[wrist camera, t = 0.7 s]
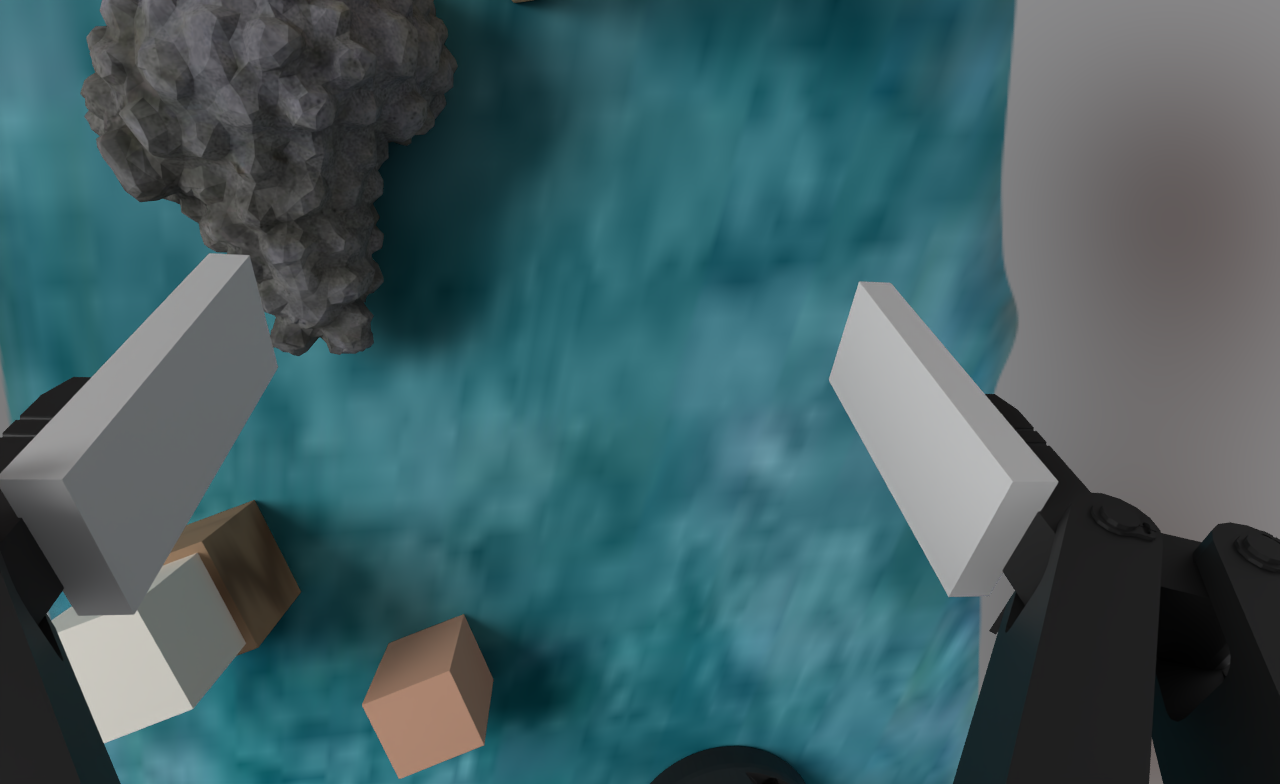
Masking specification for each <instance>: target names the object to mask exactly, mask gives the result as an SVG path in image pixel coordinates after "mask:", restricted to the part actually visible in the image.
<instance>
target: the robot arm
mask: <svg viewBox="0 0 1280 784" xmlns="http://www.w3.org/2000/svg"><path fill="white" fill-rule="evenodd" d="M277 368H278V365H277V361H276V357H275V353H274V350H273V346H272V342H271V338H270V334H269V330H268V326H267V322H266V318H265V314H264V310H263V306H262V302H261V298H260V294H259V290H258V286H257V283H256V279H255V275H254V271H253V267H252V263H251V259H250V255H233V254H210V253H209V254H208V255H207V256H206V257H205V258H204V260H203V261H202V262H201V263H200V264H199V265H198V266H197V267H196V268H195V269H194V270H193V271H192V272H191V273H190V274H189V275H188V276H187V277H186V278H185V280H184V281H183V282H182V283H181V284H180V285H179V286H178V287H177V288H176V289H175V290H174V291H173V292H172V293H171V294H170V295H169V296H168V297H167V298H166V300H165V301H164V302H163V303H162V304H161V305H160V306H159V307H158V308H157V309H156V310H155V311H154V312H153V313H152V314H151V315H150V316H149V317H148V318H147V320H146V321H145V322H144V323H143V324H142V325H141V326H140V327H139V328H138V329H137V330H136V331H135V332H134V333H133V334H132V335H131V336H130V337H129V338H128V340H127V341H126V342H125V343H124V344H123V345H122V346H121V347H120V348H119V349H118V350H117V351H116V352H115V353H114V354H113V355H112V356H111V357H110V358H109V360H108V361H107V362H106V363H105V364H104V365H103V366H102V367H101V368H100V369H99V370H98V371H97V372H96V373H95V374H94V375H93V376H92V377H73V378H71V379H69V380H67V381H65V382H64V383H62V384H60V385H58V386H56V387H55V388H53V389H51V390H49V391H48V392H46V393H44V394H42V395H41V396H40V397H39V398H38V399H37V400H36V401H35V402H34V403H33V404H32V405H31V406H30V407H29V408H28V409H27V410H26V411H24V412H23V413H22V414H21V415H20V420H15V421H14V422H13V423H12V424H11V425H10V426H9V427H8V428H7V429H6V430H5V431H4V432H3V437H2V438H0V784H121V783H120V781H119V779H118V776H117V774H116V772H115V769H114V767H113V764H112V762H111V760H110V757H109V755H108V752H107V750H106V748H105V745H104V743H103V740H102V738H101V736H100V733H99V731H98V728H97V726H96V724H95V721H94V719H93V717H92V714H91V712H90V709H89V707H88V705H87V702H86V700H85V697H84V695H83V693H82V690H81V688H80V685H79V683H78V681H77V678H76V676H75V673H74V671H73V669H72V666H71V664H70V662H69V659H68V657H67V654H66V652H65V650H64V647H63V645H62V642H61V640H60V638H59V635H58V633H57V630H56V628H55V626H54V625H53V623H52V622H51V620H50V618H49V617H48V615H47V614H46V613H47V612H48V611H49V609H50V608H51V606H52V605H53V603H54V602H55V601H56V599H57V598H58V596H59V595H60V594H61V592H62V591H63V592H64V594H65V595H66V597H67V599H68V600H69V602H70V604H71V605H72V607H73V608H74V610H75V612H76V613H77V615H78V616H97V615H134V614H135V613H136V611H137V609H138V607H139V606H140V604H141V602H142V600H143V599H144V597H145V595H146V594H147V592H148V590H149V588H150V587H151V585H152V583H153V582H154V580H155V578H156V576H157V575H158V573H159V571H160V569H161V568H162V566H163V564H164V563H165V561H166V559H167V557H168V556H169V554H170V552H171V551H172V549H173V547H174V545H175V544H176V542H177V540H178V539H179V537H180V535H181V533H182V532H183V530H184V528H185V526H186V525H187V523H188V521H189V520H190V518H191V516H192V514H193V513H194V511H195V509H196V508H197V506H198V504H199V502H200V501H201V499H202V497H203V495H204V494H205V492H206V490H207V489H208V487H209V485H210V483H211V482H212V480H213V478H214V477H215V475H216V473H217V471H218V470H219V468H220V466H221V465H222V463H223V461H224V459H225V458H226V456H227V454H228V452H229V451H230V449H231V447H232V446H233V444H234V442H235V440H236V439H237V437H238V435H239V434H240V432H241V430H242V428H243V427H244V425H245V423H246V421H247V420H248V418H249V416H250V415H251V413H252V411H253V409H254V408H255V406H256V404H257V403H258V401H259V399H260V397H261V396H262V394H263V392H264V391H265V389H266V387H267V385H268V384H269V382H270V380H271V378H272V377H273V375H274V373H275V372H276V370H277ZM829 381H830V383H831V385H832V387H833V388H834V390H835V392H836V394H837V396H838V398H839V399H840V401H841V403H842V405H843V407H844V408H845V410H846V412H847V414H848V416H849V417H850V419H851V421H852V423H853V425H854V426H855V428H856V430H857V432H858V434H859V435H860V437H861V439H862V441H863V443H864V445H865V446H866V448H867V450H868V452H869V454H870V455H871V457H872V459H873V461H874V463H875V464H876V466H877V468H878V470H879V472H880V473H881V475H882V477H883V479H884V481H885V482H886V484H887V486H888V488H889V490H890V492H891V493H892V495H893V497H894V499H895V501H896V502H897V504H898V506H899V508H900V510H901V511H902V513H903V515H904V517H905V519H906V520H907V522H908V524H909V526H910V528H911V529H912V531H913V533H914V535H915V537H916V539H917V540H918V542H919V544H920V546H921V548H922V549H923V551H924V553H925V555H926V557H927V558H928V560H929V562H930V564H931V566H932V567H933V569H934V571H935V573H936V575H937V577H938V578H939V580H940V582H941V584H942V586H943V587H944V589H945V591H946V593H947V595H948V596H949V597H964V596H989V595H990V594H991V592H992V590H993V589H994V587H995V585H996V584H997V582H998V580H999V578H1000V577H1001V575H1002V574H1003V573H1004V574H1005V576H1006V577H1007V579H1008V580H1009V582H1010V583H1011V585H1012V586H1013V588H1014V589H1015V592H1014V593H1013V595H1012V596H1011V598H1010V599H1009V601H1008V602H1007V604H1006V606H1005V607H1004V609H1003V610H1002V612H1001V613H1000V615H999V617H998V618H997V620H996V621H995V623H994V624H993V626H992V627H991V629H990V632H992V633H994V634H996V633H997V632H998V634H997V638H996V641H995V645H994V648H993V651H992V654H991V658H990V661H989V664H988V668H987V671H986V675H985V678H984V681H983V685H982V688H981V691H980V695H979V698H978V701H977V705H976V708H975V711H974V715H973V718H972V722H971V725H970V728H969V732H968V735H967V738H966V742H965V745H964V748H963V752H962V755H961V758H960V762H959V765H958V769H957V772H956V775H955V779H954V782H953V784H1149V773H1150V757H1151V739H1153V744H1154V748H1155V752H1156V756H1157V760H1158V764H1159V768H1160V772H1161V776H1162V780H1163V784H1280V539H1278V538H1274V537H1273V536H1272V535H1270V534H1268V533H1266V532H1264V531H1260V530H1257V529H1254V528H1252V527H1249V526H1247V525H1241V524H1235V523H1224V524H1218V525H1217V526H1216V527H1215V528H1214V529H1213V530H1212V531H1211V532H1210V533H1209V534H1208V536H1207V537H1206V538H1205V539H1204V540H1203V542H1198V541H1193V540H1188V539H1184V538H1180V537H1176V536H1171V535H1167V534H1163V533H1161V532H1160V530H1159V528H1158V527H1157V526H1156V525H1155V523H1154V522H1153V521H1152V520H1151V519H1150V518H1149V517H1148V516H1147V515H1145V514H1144V513H1143V512H1141V511H1140V510H1139V509H1138V508H1136V507H1134V506H1132V505H1130V504H1128V503H1127V502H1125V501H1123V500H1121V499H1118V498H1115V497H1112V496H1109V495H1106V494H1102V493H1091V492H1090V491H1089V490H1088V489H1087V488H1086V486H1085V485H1084V484H1083V483H1082V482H1081V481H1080V480H1079V478H1078V477H1077V476H1076V475H1075V474H1074V473H1073V472H1072V471H1071V469H1069V467H1068V466H1067V465H1066V464H1065V463H1064V461H1063V460H1062V459H1061V458H1060V457H1059V456H1058V455H1057V454H1056V452H1055V451H1053V449H1052V448H1051V447H1050V446H1046V441H1045V440H1044V439H1043V438H1042V437H1041V436H1040V434H1039V433H1038V432H1037V431H1033V427H1032V425H1031V424H1030V423H1029V422H1028V421H1027V420H1026V418H1025V417H1024V416H1023V415H1022V414H1021V413H1020V412H1019V411H1018V410H1017V409H1016V408H1014V407H1013V406H1011V405H1010V404H1008V403H1007V402H1005V401H1004V400H1003V399H1001V398H1000V397H998V396H997V395H995V394H984V393H983V392H982V390H981V389H980V388H979V387H978V386H977V385H976V383H975V382H974V381H973V380H972V379H971V377H970V376H969V375H968V374H967V373H966V372H965V370H964V369H963V368H962V367H961V366H960V364H959V363H958V362H957V361H956V360H955V359H954V357H953V356H952V355H951V354H950V353H949V351H948V350H947V349H946V348H945V347H944V346H943V344H942V343H941V342H940V341H939V340H938V338H937V337H936V336H935V335H934V334H933V333H932V331H931V330H930V329H929V328H928V327H927V325H926V324H925V323H924V322H923V321H922V319H921V318H920V317H919V316H918V315H917V314H916V312H915V311H914V310H913V309H912V308H911V306H910V305H909V304H908V303H907V302H906V301H905V299H904V298H903V297H902V296H901V295H900V293H899V292H898V291H897V290H896V289H895V288H894V286H893V285H892V284H891V283H880V282H859V284H858V287H857V290H856V294H855V297H854V300H853V303H852V307H851V310H850V313H849V316H848V319H847V323H846V326H845V329H844V332H843V336H842V339H841V342H840V345H839V348H838V352H837V355H836V358H835V361H834V365H833V368H832V371H831V374H830V378H829ZM650 784H806V783H805V782H804V780H803V779H802V778H801V776H800V775H799V774H798V773H797V772H796V770H795V769H793V768H792V767H791V766H790V765H789V764H788V763H786V762H785V761H783V760H782V759H780V758H778V757H777V756H775V755H773V754H770V753H768V752H765V751H762V750H759V749H754V748H749V747H740V746H727V747H718V748H712V749H708V750H704V751H701V752H698V753H695V754H692V755H690V756H688V757H685V758H683V759H681V760H680V761H678V762H676V763H674V764H673V765H671V766H670V767H668V768H667V769H666V770H664V771H663V772H662V773H661V774H660V775H658V776H657V777H656V778H655V779H654V780H653V781H652V782H651V783H650Z"/></svg>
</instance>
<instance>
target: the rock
mask: <svg viewBox="0 0 1280 784" xmlns="http://www.w3.org/2000/svg"><path fill="white" fill-rule="evenodd" d="M100 12H101V14H102V16H103V19H104V21H105V23H106V25H107V26H97V27H95V28H94V29H93V30H92V31H91V32H90V33H89V35H88V36H87V37H86V38H87V43H88V47H89V50H90V56H91V58H92V64H93V67H94V70H95V72H96V73H94V74H92V75H91V76H89V77H88V78H87V79H86V80H84V84H83V87H82V90H81V93H80V94H81V95H82V96H83V97H84V98H85V106H86V107H87V109H88V110H89V111H88V112H87V113H86V115H85V116H84V117H85V118H86V119H87V121H88V122H89V125H90V127H91V129H92V130H93V131H94V132H95V133H97V134H98V135H99V136H100V137H98V138H97V139H96V140H97V147H98V149H99V151H100V153H101V155H102V157H103V158H104V160H105V161H106V162H107V164H108V165H109V166H110V168H111V169H112V170H113V172H114V173H115V175H116V177H117V178H118V180H119V182H120V183H121V185H122V187H123V188H124V190H125V191H126V192H127V193H129V194H130V195H131V196H133V197H134V198H135V199H137V200H138V201H139V202H146V201H156V200H160V199H166V200H169V201H173V202H176V203H178V204H180V205H181V212H182V213H183V214H185V215H186V216H188V217H189V218H191V219H192V220H194V221H195V222H198V223H199V227H200V233H201V236H202V239H203V242H204V245H206V246H207V247H209V248H210V249H212V250H214V251H216V252H227V254H233V255H250V259H251V263H252V267H253V271H254V275H255V279H256V283H257V286H258V290H259V294H260V298H261V302H262V306H263V310H264V312H267V313H269V314H272V315H275V317H276V319H275V323H274V326H273V329H272V330H271V335H270V338H271V342H272V346H273V347H276V348H279V349H280V350H281V351H283V352H289V353H291V354H292V355H296V356H300V355H302V354H303V353H305V352H307V351H308V350H309V349H310V347H311V346H312V345H313V344H314V343H315V342H316V340H317V339H318V338H319V337H321V338H322V339H323V340H324V341H325V342H326V343H327V346H328V348H329V351H330V353H334V354H339V355H340V354H341V353H352V354H356V353H357V352H359V351H364V350H365V349H366V348H369V347H371V346H372V344H373V343H374V340H373V333H372V332H371V324H370V323H371V320H372V318H373V316H374V315H373V314H372V313H371V312H370V311H369V309H368V308H367V307H366V305H365V304H364V302H366V297H367V296H368V295H369V294H371V293H374V292H375V291H376V290H377V289H378V288H379V286H380V285H381V284H382V283H383V282H384V280H383V275H382V273H381V270H380V268H379V265H378V264H377V263H376V262H375V261H374V260H373V258H372V254H373V253H374V252H375V251H377V250H379V249H381V248H382V244H383V238H384V234H383V233H382V232H381V231H380V230H379V229H378V227H377V226H376V223H377V221H378V219H379V215H378V213H377V211H376V209H375V207H374V205H373V203H374V202H375V201H376V200H377V199H378V198H379V197H380V196H381V195H382V194H383V179H382V177H381V175H380V173H379V171H378V170H379V168H380V167H381V165H382V164H383V162H384V161H385V160H387V159H388V158H389V157H388V143H390V142H394V143H398V144H401V145H405V146H407V145H409V144H410V143H411V138H412V137H413V136H414V135H424V134H426V133H427V132H428V131H429V130H430V129H431V128H432V127H434V124H435V119H436V118H437V116H438V115H439V114H440V112H441V111H442V110H443V109H444V107H445V105H446V100H445V96H444V94H445V93H446V92H447V91H449V90H450V89H451V88H453V74H454V72H455V71H456V69H457V67H458V66H457V62H456V59H455V58H454V56H453V55H452V54H451V53H450V51H449V50H448V49H447V48H446V46H445V45H444V43H445V41H446V39H447V37H448V30H447V28H446V26H445V24H444V23H443V21H442V20H441V19H440V18H437V17H435V16H436V9H435V6H434V3H433V0H102V4H101V8H100Z"/></svg>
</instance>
